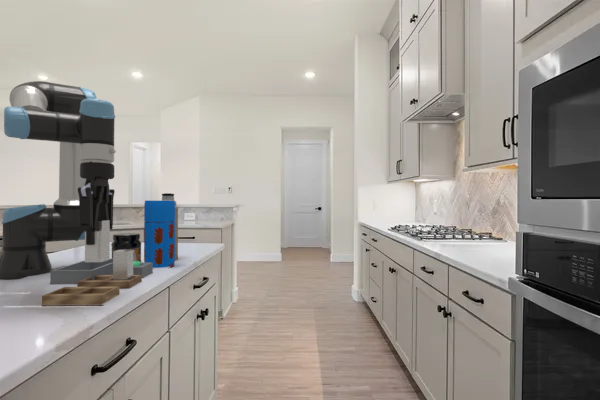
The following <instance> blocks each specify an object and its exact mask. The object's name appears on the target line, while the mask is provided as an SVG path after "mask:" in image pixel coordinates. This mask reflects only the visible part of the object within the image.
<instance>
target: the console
mask: <svg viewBox="0 0 600 400" xmlns="http://www.w3.org/2000/svg"><path fill="white" fill-rule="evenodd" d="M153 273H154V271H153V263H144V262H141V263H140V266H133V275H142V279H144V278H145V277H148V276H149V275H151V274H153Z"/></svg>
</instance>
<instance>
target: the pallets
mask: <svg viewBox="0 0 600 400" xmlns="http://www.w3.org/2000/svg"><path fill="white" fill-rule="evenodd" d="M142 279H143V278H142V275H133V278H132V279H130V280H113V275H97V276H95V280H92V277H89V278H86V279H83V280H81V281H78V282H77V284H76V285H77V286H63V287H61V288H58V289H56V290H53V291H51V292H48V293H45V294H43V295H41V307H103V306H104V304H106V303H107V302H109V301H110V300H112V299H113V298H116V297H117V296H119V295H120V290H121V289H122V290H123V289H125V290H127V289H131V288H132V287H134V286H136V285H138V284H140V283H142V281H143V280H142Z"/></svg>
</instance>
